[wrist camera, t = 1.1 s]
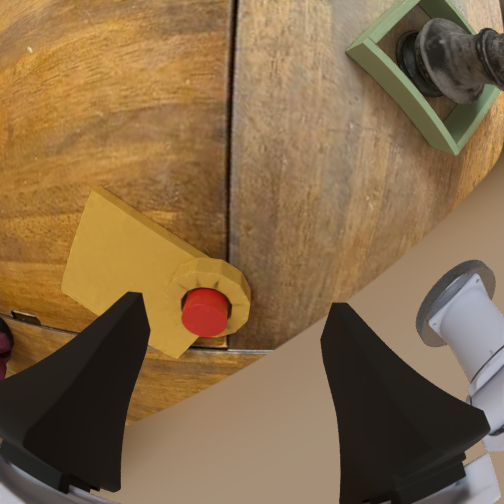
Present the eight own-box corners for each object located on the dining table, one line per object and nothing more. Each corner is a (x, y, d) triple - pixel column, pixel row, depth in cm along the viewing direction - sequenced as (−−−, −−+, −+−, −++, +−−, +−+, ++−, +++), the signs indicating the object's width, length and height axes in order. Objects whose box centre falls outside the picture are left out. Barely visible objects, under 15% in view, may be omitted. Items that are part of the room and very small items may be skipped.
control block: (265, 276, 21) (267, 302, 18) (188, 354, 25) (183, 378, 23) (105, 172, 16) (83, 185, 14) (65, 282, 21) (50, 301, 18)
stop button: (237, 301, 18) (236, 319, 17) (213, 325, 20) (211, 343, 18) (199, 279, 18) (195, 296, 16) (178, 306, 19) (173, 323, 17)
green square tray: (481, 79, 12) (506, 81, 9) (431, 147, 15) (456, 156, 13) (409, -11, 9) (430, -21, 6) (344, 51, 13) (362, 42, 10)
